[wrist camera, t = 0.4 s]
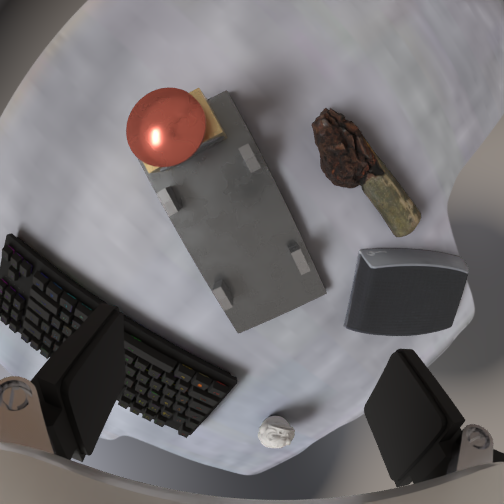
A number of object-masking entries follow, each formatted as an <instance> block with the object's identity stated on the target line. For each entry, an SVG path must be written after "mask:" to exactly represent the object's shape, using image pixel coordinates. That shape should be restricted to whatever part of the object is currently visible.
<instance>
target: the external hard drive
mask: <svg viewBox="0 0 504 504" xmlns="http://www.w3.org/2000/svg"><path fill="white" fill-rule="evenodd" d="M468 273H469V269H468V266H467V264H466V262H465V261H464V259H463V258H461V257H458V256H455V255H451V254H446V253H441V252H435V251H428V250H418V249H398V248H385V249H365V250H359V254H358V260H357V265H356V271H355V276H354V281H353V286H352V291H351V296H350V301H349V305H348V310H347V314H346V319H345V323H344V327H346V328H347V329H350V330H353V331H356V332H361V333H366V334H373V335H386V336H411V335H420V334H427V333H432V332H437V331H441V330H444V329H447V328H450V327H451V326H452V324H453V321H454V318H455V315H456V312H457V309H458V306H459V303H460V300H461V297H462V293H463V290H464V286H465V283H466V280H467V276H468Z"/></svg>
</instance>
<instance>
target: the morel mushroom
mask: <svg viewBox="0 0 504 504" xmlns="http://www.w3.org/2000/svg"><path fill="white" fill-rule="evenodd" d="M312 128H313V131H314V137H315V144H316V145H317V147H318V149H319V152H320V158H321V159H320V163H321V169H322V171H323V172H324V173H325V175H326V177H327V178H328V179H329V180H330V181H332V183H333V184H334V185H336V186H341V187H347V188H355V187H357V186H358V185H361V186H362V190H363V192H364V193H365V194H366V196H367V197H368V198H369V199H370V201H371V202H372V203H373V205H374V206H375V207H376V209H377V210H378V211H379V213H380V214H381V216H382V217H383V219H384V220H385V222H386V223H387V225H388V226H389V228H390V229H391V231H392V233H393V234H394V235H395V236H396V237H403V236H406V235H408V234H410V233H411V232H412V231H413V230H414V229H415V228H416V226H417V225H418V223H419V221H420V219H421V213H420V212H419V210H418V209H417V207H416V206H415V204H414V203H413V202H412V200H411V199H410V198H409V196H408V195H407V194H406V192H405V191H404V189H403V188H402V187H401V185H400V184H399V183H398V181H397V180H396V179H395V177H394V176H393V175H392V174H391V172H390V171H389V170H388V169H387V167H386V166H385V165H384V164H383V162H382V161H381V160H380V159H379V157H378V156H377V155H376V154H375V152H374V151H373V150H372V149H371V147H370V145H369V144H368V142H367V141H366V140H365V138H364V137H363V135H362V134H361V131H360V130H359V129H358V127H357V126H356V125H355V124H354V123H353V122H352V121H348V120H345V117H344V115H343V114H341V113H337V112H335V111H334V110H332V109H331V108H330V110H328V109H327V108H325V109H324V110H323V111H322V112H321V114H320V116H318V117H317V118H316V120H315V122H313V123H312Z"/></svg>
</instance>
